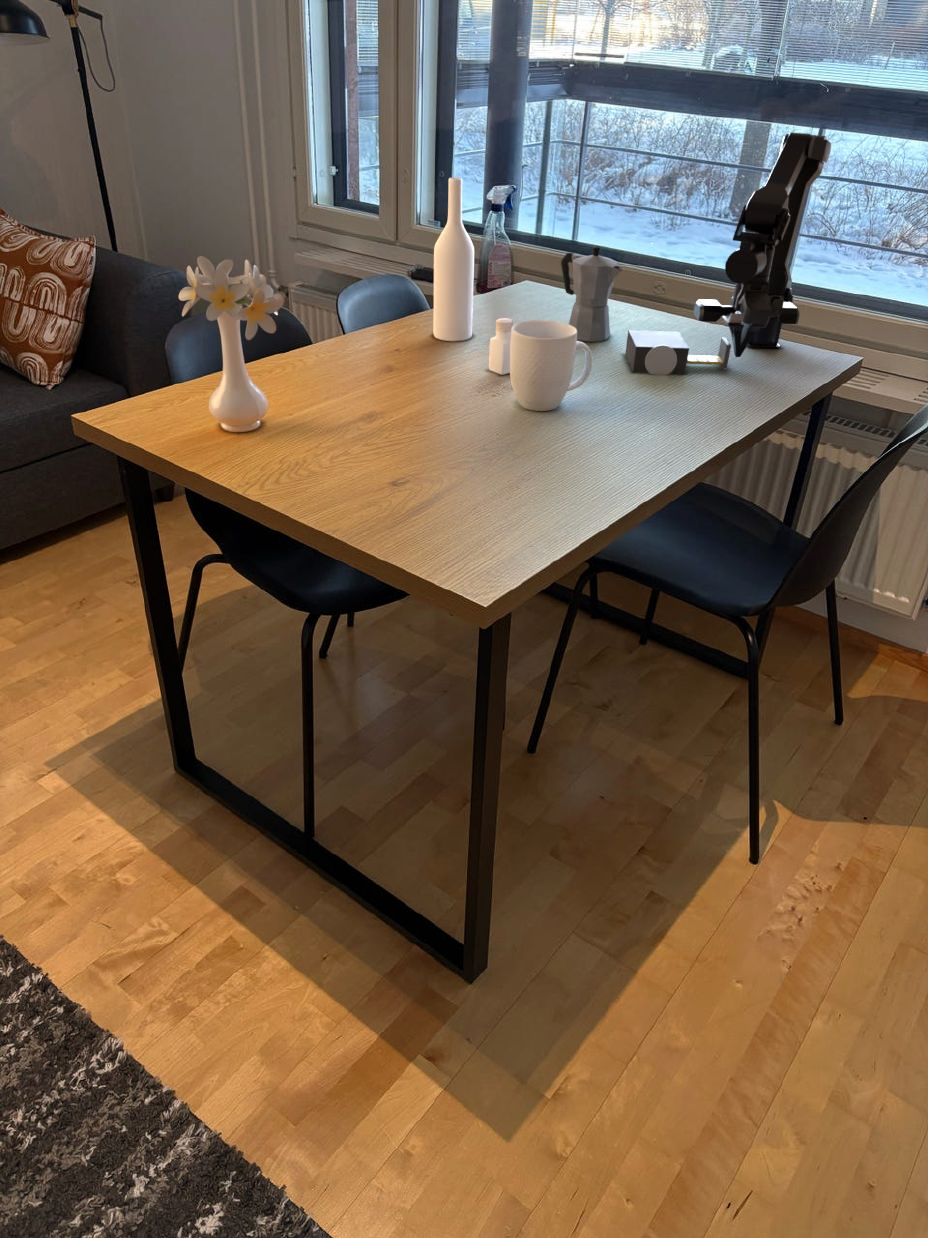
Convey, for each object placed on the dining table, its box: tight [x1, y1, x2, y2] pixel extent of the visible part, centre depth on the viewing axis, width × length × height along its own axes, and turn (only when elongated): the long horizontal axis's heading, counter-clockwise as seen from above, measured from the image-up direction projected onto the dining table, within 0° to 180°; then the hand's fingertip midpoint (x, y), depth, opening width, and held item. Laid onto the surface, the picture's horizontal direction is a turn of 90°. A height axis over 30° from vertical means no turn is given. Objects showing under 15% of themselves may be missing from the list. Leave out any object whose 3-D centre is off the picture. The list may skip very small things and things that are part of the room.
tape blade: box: [687, 336, 732, 370], centre depth 176 cm, size 10×5×5 cm, turn 89°
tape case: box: [624, 329, 690, 376], centre depth 176 cm, size 10×11×6 cm
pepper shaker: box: [488, 317, 514, 376], centre depth 169 cm, size 4×4×10 cm
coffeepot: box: [560, 245, 623, 343], centre depth 188 cm, size 15×9×18 cm, turn 44°
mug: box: [509, 319, 593, 412], centre depth 154 cm, size 15×11×13 cm
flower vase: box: [178, 255, 284, 433], centre depth 139 cm, size 13×18×25 cm
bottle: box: [432, 177, 475, 342], centre depth 182 cm, size 8×8×30 cm
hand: (737, 356), depth 176 cm, fingers closed
